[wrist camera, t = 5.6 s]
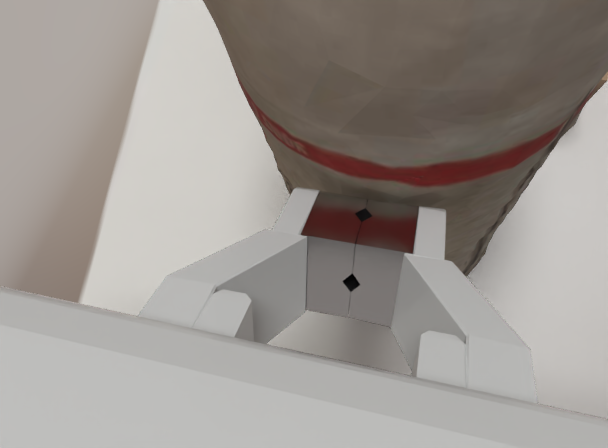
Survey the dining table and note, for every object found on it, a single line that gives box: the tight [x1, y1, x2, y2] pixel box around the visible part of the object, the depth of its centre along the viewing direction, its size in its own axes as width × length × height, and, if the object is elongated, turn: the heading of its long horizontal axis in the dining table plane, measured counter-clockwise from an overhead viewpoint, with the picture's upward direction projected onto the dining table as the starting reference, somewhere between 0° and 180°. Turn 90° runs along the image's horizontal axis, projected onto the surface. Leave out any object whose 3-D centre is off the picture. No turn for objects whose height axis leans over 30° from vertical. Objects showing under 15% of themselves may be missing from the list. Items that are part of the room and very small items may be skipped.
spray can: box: [203, 0, 608, 276], centre depth 13 cm, size 8×8×20 cm
